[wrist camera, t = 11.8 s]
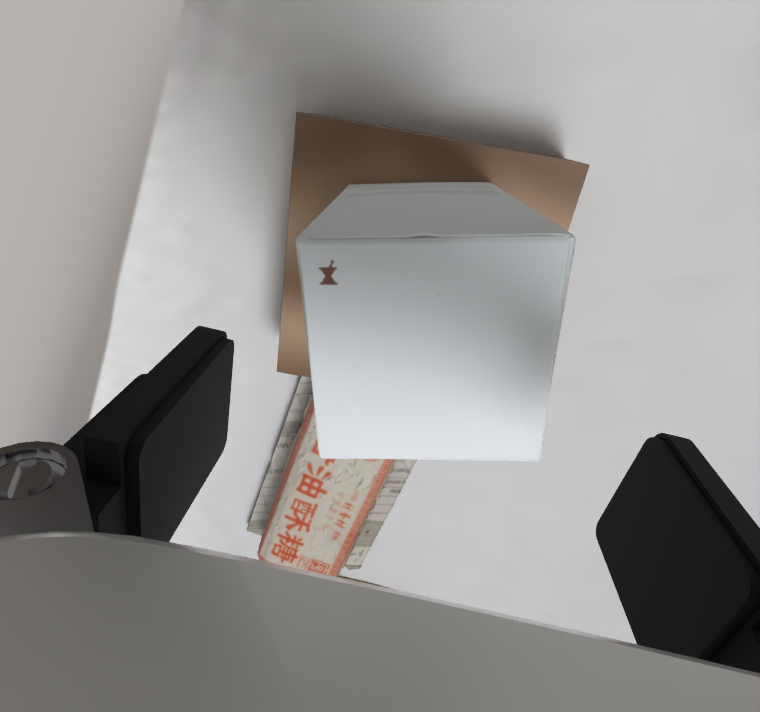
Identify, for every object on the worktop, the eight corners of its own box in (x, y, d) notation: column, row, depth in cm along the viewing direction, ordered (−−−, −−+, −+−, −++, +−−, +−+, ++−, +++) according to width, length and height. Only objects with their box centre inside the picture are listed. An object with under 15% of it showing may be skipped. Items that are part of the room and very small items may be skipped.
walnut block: (317, 113, 27) (296, 112, 23) (562, 157, 27) (589, 164, 23) (296, 338, 34) (276, 371, 29) (496, 374, 34) (508, 413, 29)
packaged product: (353, 608, 38) (229, 567, 37) (360, 558, 42) (250, 520, 41) (451, 430, 30) (297, 372, 29) (448, 391, 34) (314, 340, 33)
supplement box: (351, 322, 27) (308, 463, 16) (346, 180, 24) (287, 228, 13) (486, 323, 27) (543, 470, 15) (498, 180, 24) (581, 228, 12)
